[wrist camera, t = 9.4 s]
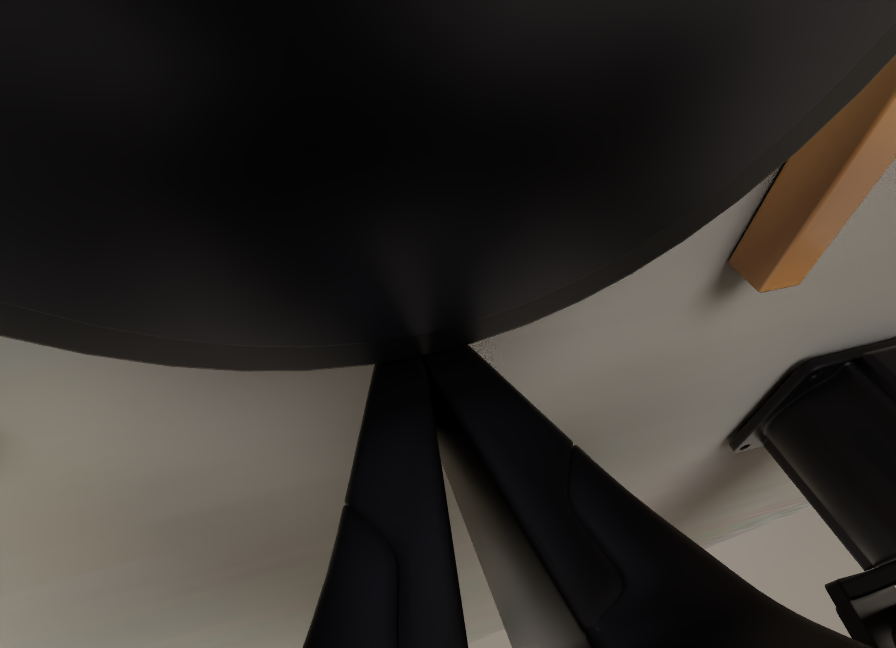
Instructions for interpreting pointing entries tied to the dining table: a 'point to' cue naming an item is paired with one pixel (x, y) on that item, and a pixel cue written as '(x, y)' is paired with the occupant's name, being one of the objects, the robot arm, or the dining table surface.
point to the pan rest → (820, 189)
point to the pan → (382, 161)
